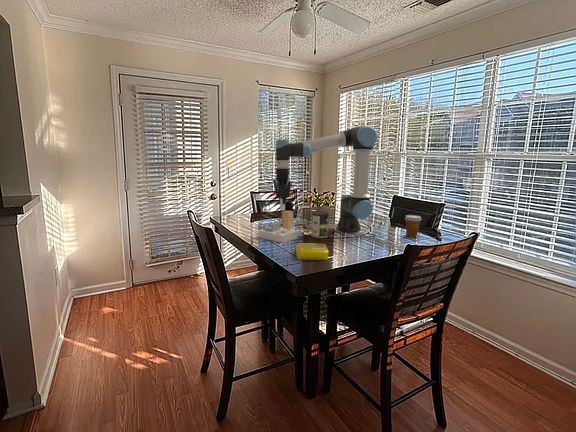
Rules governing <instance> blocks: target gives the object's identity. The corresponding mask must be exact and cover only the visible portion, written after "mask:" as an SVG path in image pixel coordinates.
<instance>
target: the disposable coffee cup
mask: <svg viewBox="0 0 576 432" xmlns="http://www.w3.org/2000/svg"><path fill="white" fill-rule="evenodd" d="M404 219H405V233H406V236H407V237H411V238H412V237H413V238H416V237H418V233H419V229H420V226H421V221H422V217H421V216H420V215H414V214H408V215H407V214H406V215H405V217H404Z"/></svg>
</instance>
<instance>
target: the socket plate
mask: <svg viewBox="0 0 576 432" xmlns="http://www.w3.org/2000/svg"><path fill="white" fill-rule="evenodd" d="M298 233H299V232H298V230H294V229H292V230H289V229H284V228H283V227H280V229H279V230H275V231H269V230H264V228H263V229H260V230H258V238H260V239H263V240H267V241H269V240H270V241H273V242H277V243H281V244H284V243H287V242H290V241H293V240H296V239H298V237H299V235H298Z"/></svg>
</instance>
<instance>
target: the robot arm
mask: <svg viewBox="0 0 576 432" xmlns="http://www.w3.org/2000/svg"><path fill="white" fill-rule="evenodd" d="M377 141H378V132H377V131H376V129H375V128H374V127H372V126H370V125H362V126H356V127H355V126H354V127H352V128H349V129H346V130H342V131H340V132H339V133H336V134H331V135H327V136H322V137H317V138H314V139H309V140H304V141H299V142H292V143H290V142H291V141H290V140H289V139H277V140H276V141H275V179H272V182H273V183H272V184H273V186H274V193H275V197H278V204H279V210H280V211H282V210H284V209H285V204H286V202H287V198H289V197H290V193H291V188H292V184H293V182H294V181H293V180H291V179H290V158H309V157H310V156H311V154H312V153H316V152H321V151H325V150H329V149H334V148H335V149H336V148H340V147H342V148H347V147H352V150H353V152H354V170H353V171H354V172H353V187H352V188H353V190H352V191H353V192H352V193H351V194H342V195H341V197H340V211H339V213H340V214H339V220H338V223H337V224H336V230H337V231H340V232H346V233H357V232H360V231H361V223H360V220H365V219H367V218H369V217H370V216H371V214H372V213H373V209H374V207H373V204H372V202H371V196H370V194H368V193H369V180H370V179H369V177H370V161H371V153H372V152H373V151H374V146H375V144H376V143H377Z"/></svg>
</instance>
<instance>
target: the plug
mask: <svg viewBox="0 0 576 432" xmlns="http://www.w3.org/2000/svg"><path fill="white" fill-rule="evenodd" d="M292 227H293V226H292V212H291V211H284V212H283V226H282V228H284V229H289V230H293V228H292Z"/></svg>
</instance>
